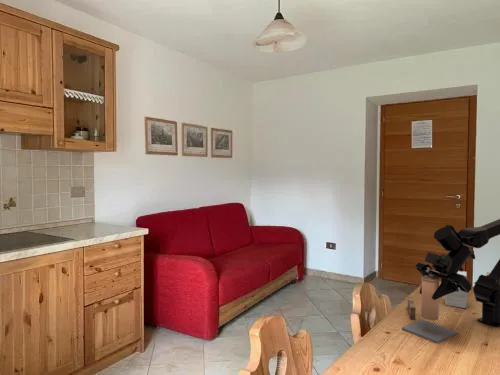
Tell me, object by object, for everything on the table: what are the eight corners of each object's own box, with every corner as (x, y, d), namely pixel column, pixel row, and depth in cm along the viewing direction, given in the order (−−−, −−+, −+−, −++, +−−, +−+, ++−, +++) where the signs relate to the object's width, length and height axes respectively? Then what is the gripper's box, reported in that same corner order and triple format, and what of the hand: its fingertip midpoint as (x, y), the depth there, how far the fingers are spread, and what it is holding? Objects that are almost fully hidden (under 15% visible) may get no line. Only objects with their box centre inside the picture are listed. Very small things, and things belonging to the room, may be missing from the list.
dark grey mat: (422, 321, 127) (422, 319, 127) (457, 333, 117) (457, 331, 117) (401, 329, 121) (401, 327, 121) (437, 343, 111) (437, 341, 111)
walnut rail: (407, 307, 141) (407, 296, 140) (412, 307, 140) (412, 297, 140) (410, 318, 129) (410, 307, 129) (415, 319, 129) (415, 308, 129)
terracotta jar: (420, 313, 122) (420, 274, 122) (437, 315, 120) (438, 276, 120) (421, 319, 117) (422, 279, 117) (439, 321, 115) (440, 280, 115)
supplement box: (467, 303, 145) (467, 271, 145) (466, 308, 139) (467, 275, 139) (446, 299, 149) (446, 268, 149) (444, 305, 143) (445, 273, 142)
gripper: (419, 239, 128) (392, 272, 125) (464, 249, 110) (434, 289, 107) (437, 259, 130) (411, 293, 128) (484, 273, 113) (455, 312, 110)
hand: (426, 296), depth 118 cm, fingers closed on terracotta jar, 5 cm apart
